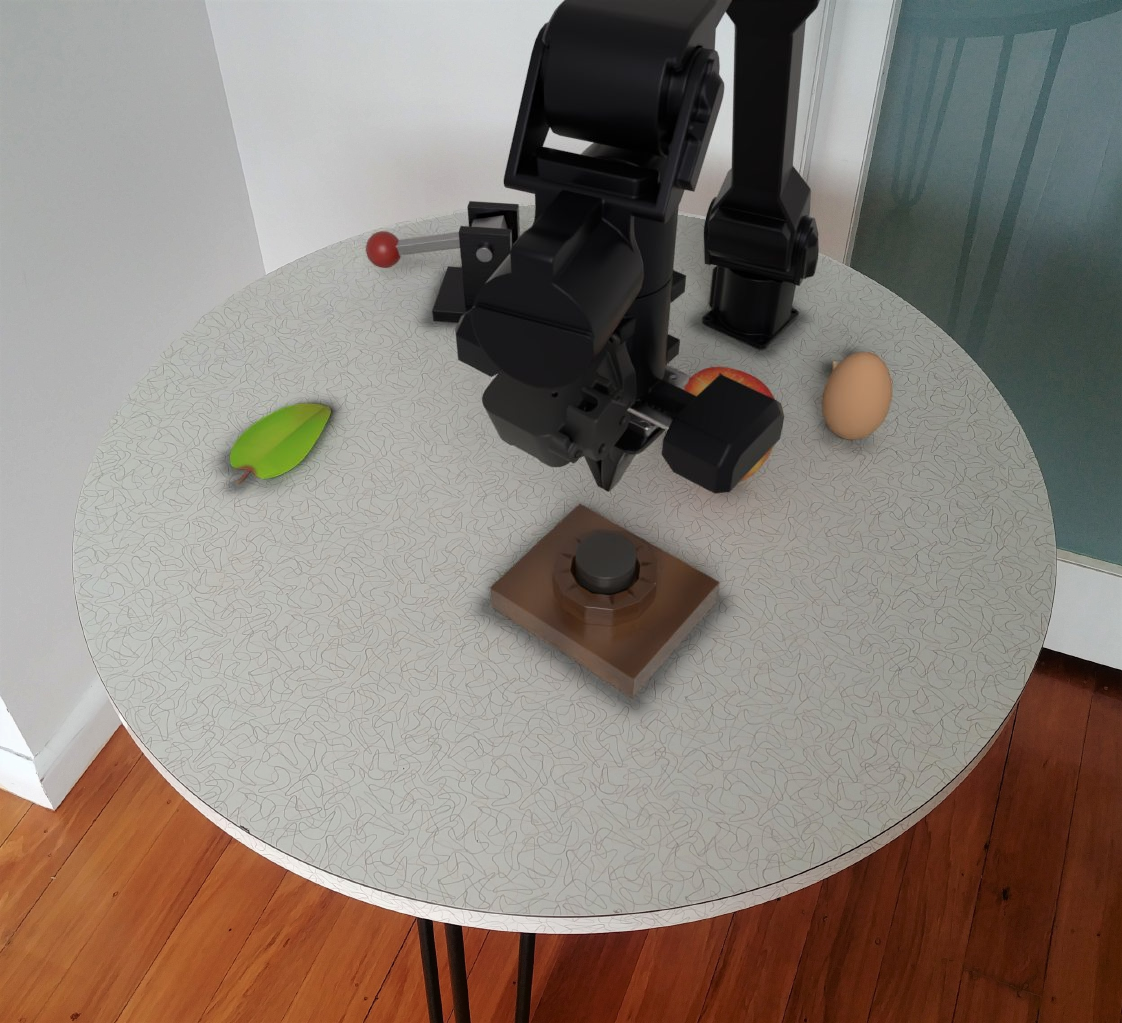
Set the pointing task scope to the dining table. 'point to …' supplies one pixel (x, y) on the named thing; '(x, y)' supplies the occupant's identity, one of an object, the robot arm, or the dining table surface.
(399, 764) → the dining table surface
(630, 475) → the dining table surface
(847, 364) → the egg
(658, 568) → the button block
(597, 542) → the button
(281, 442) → the decorative leaf
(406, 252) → the switch
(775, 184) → the robot arm
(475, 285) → the bracket
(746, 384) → the apple
